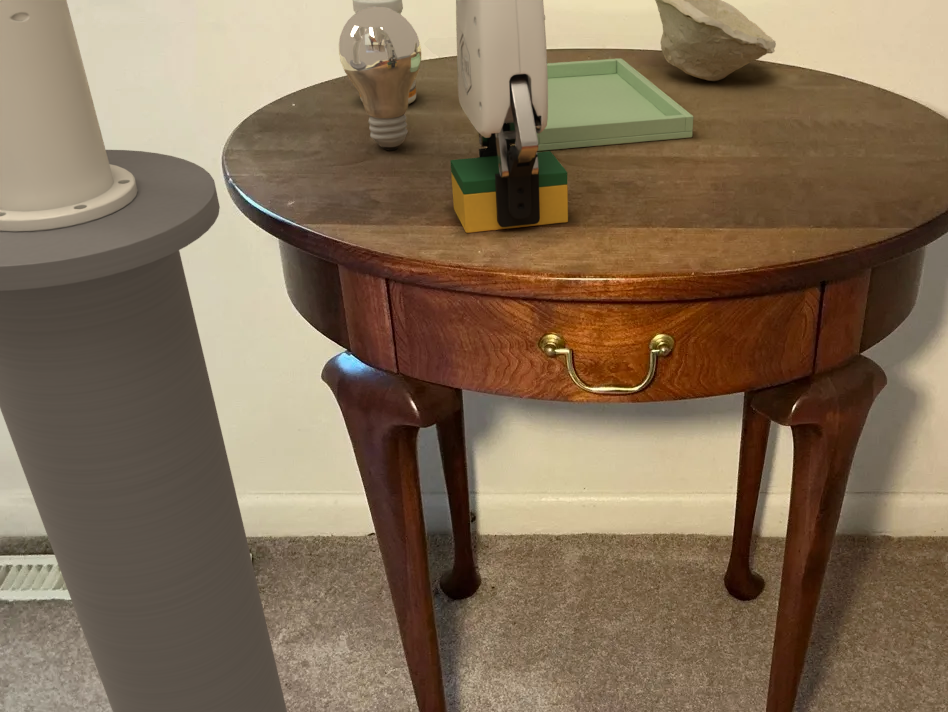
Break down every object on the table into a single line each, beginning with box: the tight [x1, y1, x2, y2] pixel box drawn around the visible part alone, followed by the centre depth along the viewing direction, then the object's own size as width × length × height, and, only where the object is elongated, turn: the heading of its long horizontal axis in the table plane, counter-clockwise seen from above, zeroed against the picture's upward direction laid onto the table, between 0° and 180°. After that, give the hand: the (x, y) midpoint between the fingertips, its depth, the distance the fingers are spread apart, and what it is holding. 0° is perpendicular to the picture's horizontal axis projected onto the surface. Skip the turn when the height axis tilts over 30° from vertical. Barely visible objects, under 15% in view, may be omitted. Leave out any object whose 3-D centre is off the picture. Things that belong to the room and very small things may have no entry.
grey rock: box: [654, 0, 777, 82], centre depth 113 cm, size 15×14×10 cm
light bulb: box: [338, 7, 422, 151], centre depth 91 cm, size 7×7×12 cm
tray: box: [537, 57, 694, 152], centre depth 105 cm, size 16×22×2 cm
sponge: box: [449, 150, 569, 234], centre depth 81 cm, size 8×5×4 cm, turn 107°
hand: (509, 207), depth 82 cm, fingers closed on sponge, 5 cm apart
